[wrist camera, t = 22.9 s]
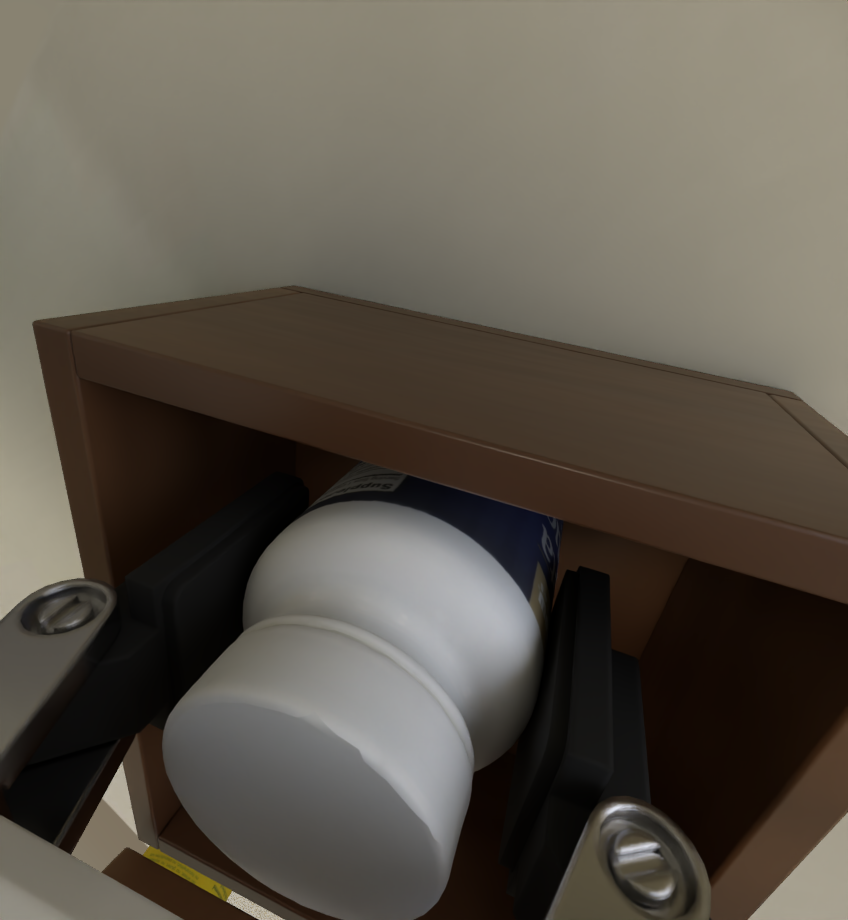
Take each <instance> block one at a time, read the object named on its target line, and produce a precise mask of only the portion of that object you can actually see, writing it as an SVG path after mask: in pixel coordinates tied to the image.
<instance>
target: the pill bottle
mask: <svg viewBox="0 0 848 920" xmlns="http://www.w3.org/2000/svg"><path fill="white" fill-rule="evenodd" d="M563 523H564V521H563V520H559V519H556V518H553V517H549V516H546V515H543V514H539V513H536V512H532V511H529V510H526V509H522V508H519V507H515V506H512V505H509V504H505V503H502V502H499V501H495V500H492V499H488V498H485V497H482V496H478V495H475V494H471V493H468V492H465V491H461V490H458V489H454V488H451V487H448V486H444V485H441V484H438V483H434V482H431V481H427V480H424V479H421V478H417V477H414V476H410V475H407V474H404V473H400V472H397V471H394V470H390V469H387V468H383V467H380V466H377V465H373V464H370V463H366V462H363V461H360V462H359V463H358V464H357V465H356V466H355V467H354V468H352V469H351V470H350V471H349V472H348V473H347V474H346V475H345V476H344V477H342V478H341V479H340V480H339V481H338V482H337V483H336V484H335V485H333V486H332V487H331V488H330V489H329V490H328V491H327V492H326V493H324V494H323V495H322V496H321V497H320V498H319V499H318V500H316V501H315V502H314V503H313V504H312V505H311V506H310V507H309V508H308V509H306V510H305V511H304V512H303V513H302V514H301V515H299V516H298V517H297V518H296V519H295V520H294V521H293V522H292V523H291V524H290V525H289V526H288V527H286V528H285V529H284V530H283V531H282V532H281V533H280V534H279V535H278V536H277V537H276V538H275V539H274V540H273V542H272V543H271V544H270V545H269V546H268V547H267V548H266V549H265V551H264V552H263V554H262V555H261V556H260V558H259V559H258V561H257V563H256V565H255V566H254V568H253V570H252V572H251V575H250V577H249V580H248V583H247V587H246V591H245V596H244V601H243V619H242V621H243V630H244V632H243V633H242V634H241V635H240V636H239V637H238V638H237V640H236V641H235V642H234V643H233V644H231V645H230V646H229V647H228V648H227V649H226V650H225V651H224V652H223V653H222V655H221V656H220V657H219V658H218V659H217V660H216V661H215V662H214V663H213V664H212V665H211V666H210V667H209V668H208V670H207V671H206V672H205V673H204V674H203V675H202V676H201V678H200V679H199V680H198V681H197V682H196V683H195V684H194V685H193V686H192V687H191V688H190V689H189V691H188V692H187V693H186V694H185V695H184V696H183V697H182V698H181V700H180V701H179V702H178V703H177V705H176V706H175V707H174V709H173V710H172V712H171V713H170V715H169V716H168V719H167V721H166V725H165V728H164V731H163V739H162V752H163V761H164V765H165V770H166V774H167V776H168V778H169V780H170V782H171V785H172V787H173V789H174V791H175V793H176V795H177V796H178V798H179V800H180V802H181V803H182V805H183V807H184V808H185V810H186V811H187V813H188V814H189V815H190V817H191V818H192V820H193V821H194V822H195V824H196V825H197V826H198V827H199V828H200V830H201V831H202V832H203V833H204V834H205V835H206V836H207V837H208V838H209V839H210V840H211V841H212V842H213V843H214V844H215V845H216V846H217V847H218V848H219V849H220V850H221V851H222V852H223V853H224V854H225V855H226V856H227V857H228V858H230V859H231V860H232V861H233V862H234V863H236V864H237V865H238V866H240V867H241V868H242V869H243V870H245V871H246V872H247V873H248V874H250V875H251V876H253V877H254V878H255V879H257V880H258V881H260V882H261V883H263V884H264V885H266V886H267V887H269V888H271V889H272V890H274V891H276V892H277V893H279V894H281V895H283V896H285V897H287V898H289V899H291V900H293V901H295V902H297V903H298V904H300V905H302V906H305V907H307V908H310V909H313V910H315V911H318V912H321V913H323V914H326V915H329V916H332V917H336V918H339V919H342V920H414V919H416V918H418V917H420V916H422V915H424V914H425V913H427V912H428V911H429V910H430V909H431V908H432V907H433V906H434V905H435V904H436V903H437V902H438V901H439V899H440V897H441V895H442V893H443V892H444V890H445V888H446V885H447V882H448V880H449V877H450V872H451V868H452V864H453V860H454V856H455V852H456V848H457V844H458V841H459V837H460V833H461V829H462V826H463V823H464V819H465V816H466V813H467V810H468V807H469V803H470V797H471V792H472V780H473V775H474V772H475V771H478V770H480V769H482V768H484V767H485V766H487V765H489V764H491V763H492V762H494V761H495V760H496V759H498V758H499V757H501V756H502V755H503V754H504V753H505V752H506V751H507V750H509V749H510V748H511V747H512V746H513V744H514V743H515V742H516V740H517V739H518V738H519V737H520V735H521V734H522V732H523V731H524V729H525V728H526V726H527V724H528V722H529V720H530V718H531V716H532V713H533V710H534V707H535V705H536V702H537V698H538V694H539V689H540V684H541V679H542V674H543V669H544V663H545V655H546V648H547V642H548V633H549V625H550V618H551V611H552V605H553V598H554V593H555V584H556V580H557V570H558V564H559V553H560V545H561V538H562V530H563Z"/></svg>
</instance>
